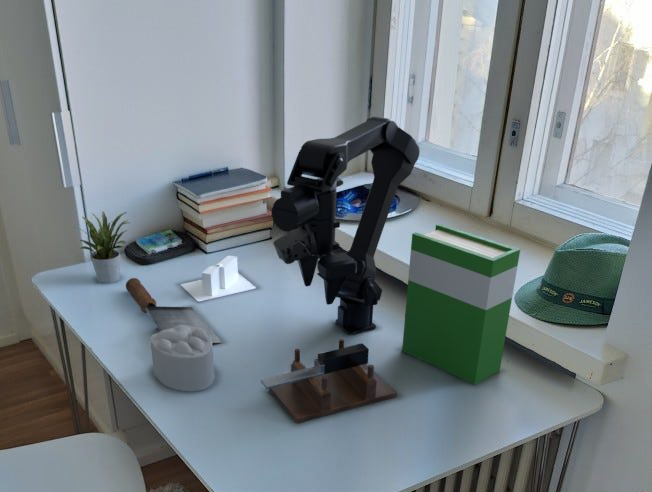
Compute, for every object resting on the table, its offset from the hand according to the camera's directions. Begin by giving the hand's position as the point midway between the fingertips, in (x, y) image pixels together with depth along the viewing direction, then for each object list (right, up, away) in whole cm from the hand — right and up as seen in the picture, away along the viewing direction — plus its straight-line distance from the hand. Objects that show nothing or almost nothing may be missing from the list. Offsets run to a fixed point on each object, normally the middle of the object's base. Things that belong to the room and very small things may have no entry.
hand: (318, 294), depth 148 cm
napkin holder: (-20, +8, +34) cm, 41 cm away
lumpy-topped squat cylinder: (-25, -16, 0) cm, 30 cm away
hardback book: (+26, -13, +2) cm, 29 cm away
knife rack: (+2, -19, -7) cm, 21 cm away
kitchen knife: (-1, -16, -11) cm, 19 cm away
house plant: (-46, +11, +40) cm, 62 cm away
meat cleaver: (-30, -1, +22) cm, 38 cm away
